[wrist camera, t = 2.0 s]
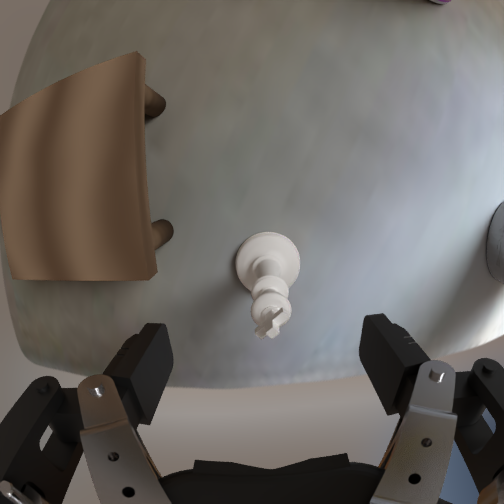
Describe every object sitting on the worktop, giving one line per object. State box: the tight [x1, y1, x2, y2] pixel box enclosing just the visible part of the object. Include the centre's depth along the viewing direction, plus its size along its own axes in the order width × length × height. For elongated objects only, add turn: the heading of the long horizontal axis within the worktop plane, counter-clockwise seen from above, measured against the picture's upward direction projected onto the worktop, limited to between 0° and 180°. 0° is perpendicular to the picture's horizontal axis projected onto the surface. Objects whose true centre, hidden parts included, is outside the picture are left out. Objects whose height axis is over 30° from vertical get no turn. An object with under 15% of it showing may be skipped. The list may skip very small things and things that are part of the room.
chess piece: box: [236, 232, 300, 339], centre depth 16 cm, size 5×5×10 cm
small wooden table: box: [0, 51, 174, 281], centre depth 16 cm, size 13×13×7 cm
